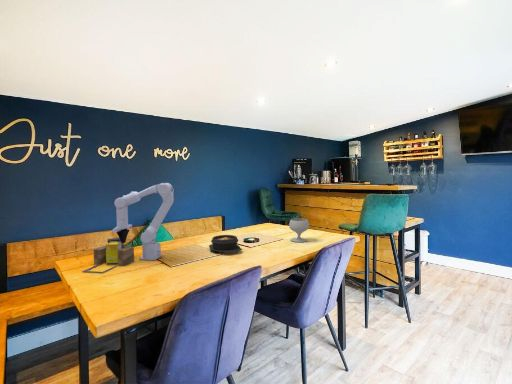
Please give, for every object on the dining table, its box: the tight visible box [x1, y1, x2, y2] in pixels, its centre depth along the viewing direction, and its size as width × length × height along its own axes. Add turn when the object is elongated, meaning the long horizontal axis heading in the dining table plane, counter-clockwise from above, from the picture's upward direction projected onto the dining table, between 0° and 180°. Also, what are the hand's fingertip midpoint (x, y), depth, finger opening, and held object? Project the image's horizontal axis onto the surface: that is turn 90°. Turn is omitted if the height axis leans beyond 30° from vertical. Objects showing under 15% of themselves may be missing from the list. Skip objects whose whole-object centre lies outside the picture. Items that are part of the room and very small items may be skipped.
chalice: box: [288, 218, 310, 243], centre depth 201 cm, size 14×14×15 cm
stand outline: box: [81, 264, 119, 274], centre depth 142 cm, size 11×11×1 cm
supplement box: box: [105, 242, 122, 266], centre depth 152 cm, size 6×6×11 cm
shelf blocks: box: [93, 245, 135, 267], centre depth 152 cm, size 18×8×8 cm, turn 80°
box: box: [106, 237, 125, 248], centre depth 164 cm, size 8×6×11 cm
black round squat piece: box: [208, 234, 242, 254], centre depth 176 cm, size 25×19×8 cm
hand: (123, 242), depth 160 cm, fingers closed
